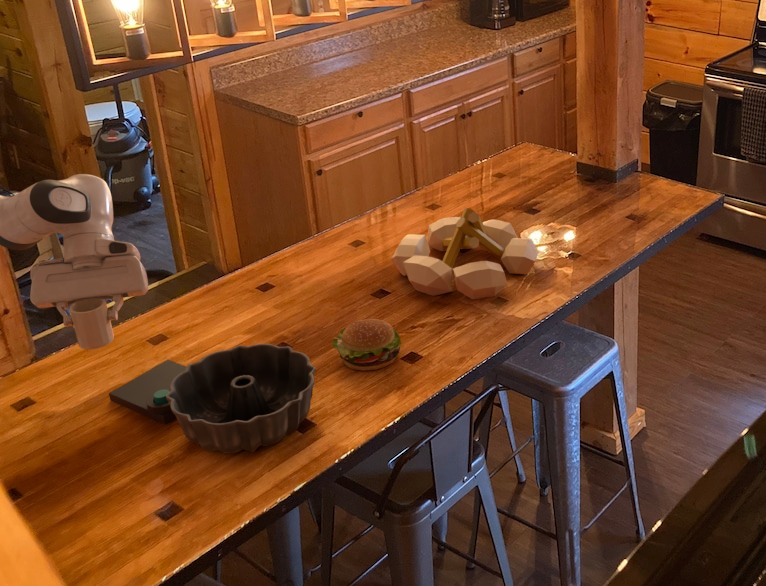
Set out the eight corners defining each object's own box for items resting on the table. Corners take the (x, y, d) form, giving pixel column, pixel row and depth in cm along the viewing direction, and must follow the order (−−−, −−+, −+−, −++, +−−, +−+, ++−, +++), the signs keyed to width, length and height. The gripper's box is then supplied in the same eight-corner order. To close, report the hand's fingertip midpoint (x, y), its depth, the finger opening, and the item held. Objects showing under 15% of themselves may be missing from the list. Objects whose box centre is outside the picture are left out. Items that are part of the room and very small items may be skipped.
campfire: (478, 316, 220) (475, 250, 213) (368, 280, 236) (361, 218, 229) (559, 257, 248) (558, 197, 241) (455, 229, 263) (452, 172, 256)
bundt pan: (347, 425, 182) (341, 381, 178) (212, 489, 165) (203, 443, 161) (281, 370, 199) (275, 328, 195) (153, 422, 182) (143, 379, 178)
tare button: (151, 401, 183) (150, 395, 183) (164, 394, 185) (162, 387, 185) (161, 406, 182) (160, 399, 181) (173, 398, 184) (172, 391, 184)
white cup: (71, 344, 183) (61, 308, 180) (100, 329, 188) (91, 294, 185) (92, 352, 180) (83, 316, 177) (121, 337, 185) (112, 301, 182)
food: (332, 346, 208) (328, 314, 204) (397, 336, 212) (394, 305, 208) (336, 380, 196) (332, 347, 193) (405, 369, 200) (402, 336, 196)
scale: (108, 401, 188) (105, 387, 187) (169, 366, 200) (166, 352, 198) (163, 425, 181) (160, 410, 180) (223, 388, 193) (220, 373, 192)
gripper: (24, 256, 181) (24, 326, 176) (141, 243, 186) (144, 310, 181) (35, 267, 186) (36, 335, 182) (148, 253, 192) (151, 319, 187)
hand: (91, 322), depth 182 cm, fingers closed on white cup, 6 cm apart
